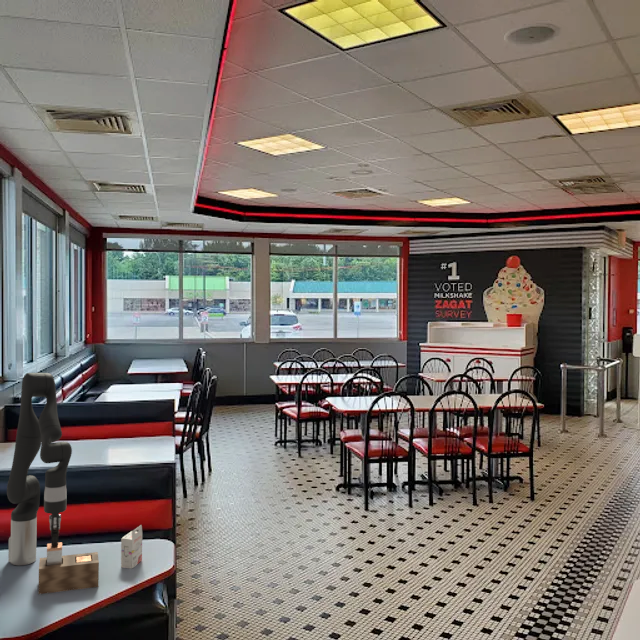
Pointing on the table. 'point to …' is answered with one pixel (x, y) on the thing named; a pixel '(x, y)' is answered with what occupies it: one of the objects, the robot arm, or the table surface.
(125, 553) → the ink cartridge box
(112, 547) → the table surface
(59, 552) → the peg near
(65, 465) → the robot arm
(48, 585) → the walnut block
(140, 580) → the table surface
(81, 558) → the peg far
